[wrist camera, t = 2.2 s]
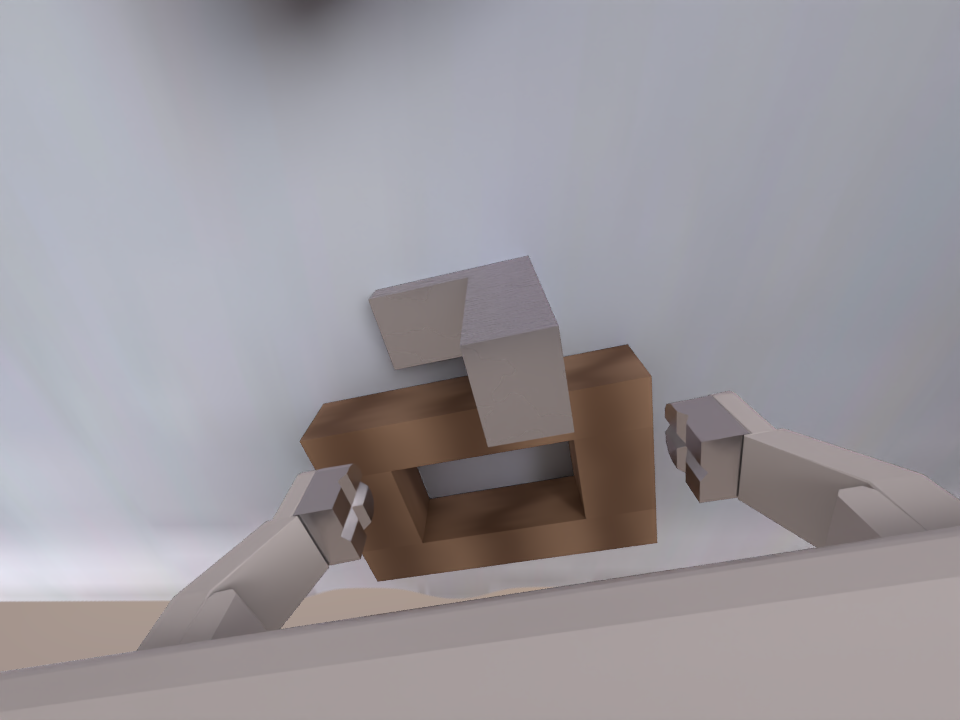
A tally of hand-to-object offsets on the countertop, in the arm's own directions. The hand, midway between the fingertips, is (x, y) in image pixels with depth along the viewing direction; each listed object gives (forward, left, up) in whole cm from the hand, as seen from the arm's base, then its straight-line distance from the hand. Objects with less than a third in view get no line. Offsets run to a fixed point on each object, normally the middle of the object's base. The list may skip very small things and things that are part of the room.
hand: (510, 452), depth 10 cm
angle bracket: (+2, 0, -12) cm, 12 cm away
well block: (+2, +10, -12) cm, 15 cm away
